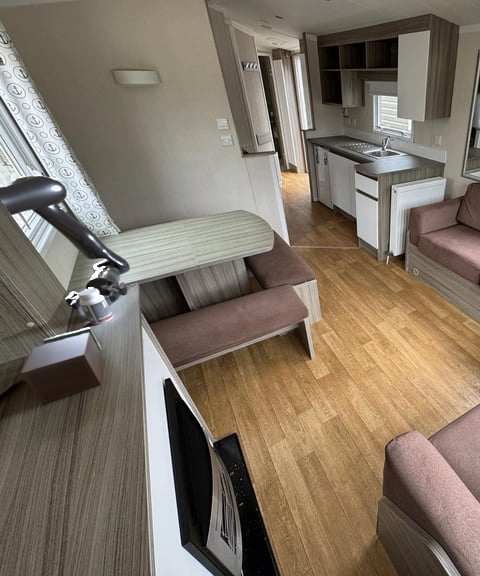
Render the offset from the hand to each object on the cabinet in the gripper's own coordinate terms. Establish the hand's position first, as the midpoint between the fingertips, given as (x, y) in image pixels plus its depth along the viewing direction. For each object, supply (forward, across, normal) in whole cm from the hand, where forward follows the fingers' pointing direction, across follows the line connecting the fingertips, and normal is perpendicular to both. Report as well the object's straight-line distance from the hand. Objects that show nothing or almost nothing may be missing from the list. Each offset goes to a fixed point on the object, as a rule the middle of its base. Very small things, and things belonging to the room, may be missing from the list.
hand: (93, 303), depth 92 cm
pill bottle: (0, 0, +6) cm, 6 cm away
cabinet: (+31, 0, +6) cm, 32 cm away
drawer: (+25, -1, +5) cm, 25 cm away
